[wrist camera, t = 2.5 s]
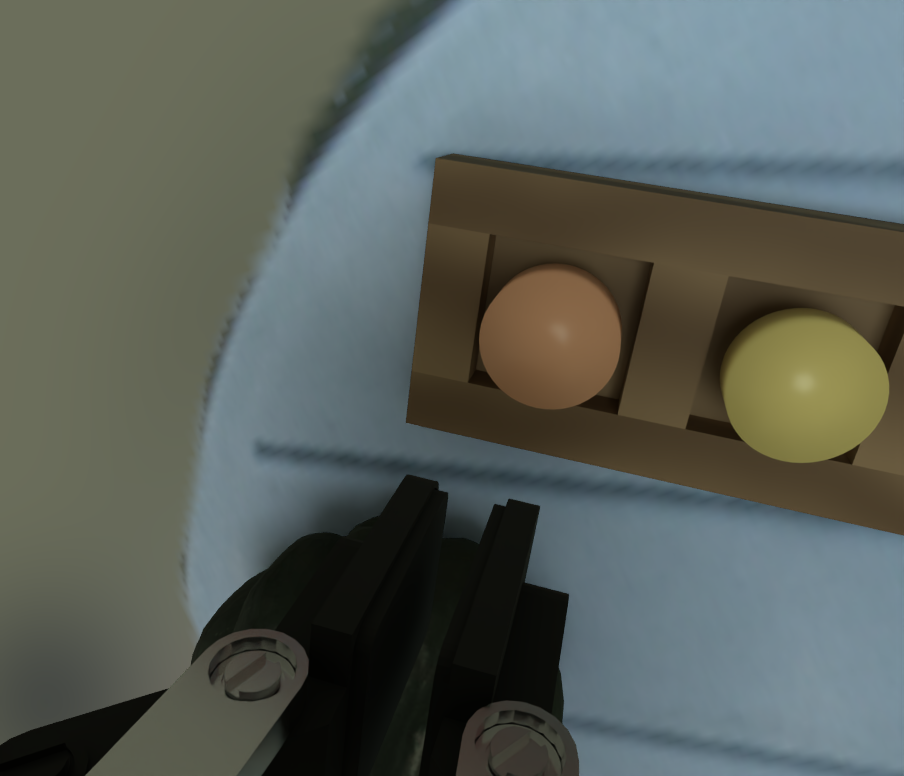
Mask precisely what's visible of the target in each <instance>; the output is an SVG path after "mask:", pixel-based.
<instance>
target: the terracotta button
mask: <svg viewBox="0 0 904 776" xmlns="http://www.w3.org/2000/svg"><path fill="white" fill-rule="evenodd" d="M621 336H622V322H621V315H620V312H619V308H618V306H617V303H616V301H615V299H614V297H613V296H612V294H611V292H610V291H609V290H608V288H607V287H606V286H605V285H604V284H603V283H602V282H601V281H600V280H599V279H598V278H596V277H595V276H593V275H592V274H590V273H589V272H587V271H585V270H583V269H580V268H578V267H575V266H571V265H567V264H558V263H553V264H542V265H538V266H534V267H531V268H529V269H526V270H524V271H522V272H521V273H519V274H517V275H516V276H514V277H513V278H512V279H511V280H509V282H508V283H507V284H506V285H505V286H504V287H503V288H502V289H501V291H500V292H499V293H498V295H497V296H496V297H495V299H494V300H493V301H492V303H491V304H490V305H489V307H488V309H487V311H486V313H485V315H484V317H483V320H482V323H481V328H480V335H479V347H480V353H481V357H482V361H483V364H484V366H485V368H486V370H487V372H488V374H489V375H490V377H491V379H492V380H493V381H494V382H495V384H496V385H497V386H498V387H499V388H500V389H501V390H502V391H503V392H504V393H506V394H507V395H508V396H510V397H511V398H513V399H515V400H516V401H518V402H520V403H523V404H525V405H527V406H531V407H535V408H540V409H551V410H555V409H564V408H569V407H573V406H575V405H578V404H581V403H583V402H585V401H587V400H589V399H590V398H592V397H593V396H595V395H596V394H597V393H598V392H599V391H600V390H601V389H602V388H603V387H604V386H605V385H606V384H607V383H608V381H609V380H610V378H611V377H612V375H613V373H614V371H615V369H616V366H617V363H618V360H619V354H620V347H621Z"/></svg>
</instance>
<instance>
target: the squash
mask: <svg viewBox="0 0 904 776" xmlns="http://www.w3.org/2000/svg"><path fill="white" fill-rule="evenodd" d="M378 518H379V517H378V516H377V517H374V518H371V519H369V520H367V521H365V522H363V523H361V524H359V525H357V526H356V527H355V528H354V529H353V530H352V531H351V532H350V533H349V535H348V536H347V537H350V538H354V539H358V540H362V541H364V540H365V538H366V537H367V535H368V534H369V532H370V531H371V529H372V527H373V526H374V524H375V523H376V521H377V520H378ZM341 537H343V536H340V535H337V534H334V533H328V532H323V533H315V534H310V535H307V536H304V537H301V538H300V539H298V540H297V541H295V542H294V543H293V544H292V545H291V546H289V547H288V549H287V550H285V551H284V552H283V553H282V554H281V555H280V556H279V557H278V558H277V559H276V560H275V561H274V562H273V564H272V565H271V566H270V567H269V568H268V569H266V570H264V571H263V572H261V573H259V574H257V575H256V576H254V577H252V578H251V579H249V580H248V581H247V582H245V583H244V584H243V585H242V586H241V587H240V588H239V589H238V590H236V591H235V592H234V593H233V594H232V595H231V596H230V597H229V598H228V599H227V600H226V601H225V602H224V603H223V604H222V605H221V607H220V608H219V609H218V610H217V612H216V613H215V614H214V616H213V617H212V618H211V619H210V621H209V622H208V623H207V625H206V626H205V628H204V629H203V632H202V634H201V636H200V639H199V641H198V643H197V645H196V647H195V650H194V653H193V656H192V661H191V665H192V664H193V663H194V662H195V661H196V660H197V659H198V658H199V657H200V656H201V654H202V653H203V652H204V651H205V650H206V649H207V648H209V647H210V646H211V645H212V644H214V643H215V642H216V641H218V640H219V639H221V638H223V637H225V636H227V635H230V634H232V633H234V632H239V631H243V630H248V629H269V630H274V631H275V629H276V628H277V626H278V625H279V624H280V622H281V621H282V619H283V618H284V616H285V615H286V614H287V612H288V611H289V609H290V608H291V606H292V605H293V604H294V602H295V601H296V599H297V598H298V596H299V595H300V594H301V592H302V591H303V589H304V588H305V586H306V585H307V584H308V582H309V581H310V579H311V578H312V576H313V575H314V574H315V572H316V571H317V569H318V568H319V566H320V565H321V564H322V562H323V561H324V559H325V558H326V556H327V555H328V554H329V552H330V551H331V549H332V548H333V546H334V545H335V544H336V542H337V541H338V540H339V539H340V538H341ZM478 547H479V544H477V543H475V542H473V541H471V540H468V539H464V538H444V539H442V544H441V550H440V557H439V564H438V571H437V578H436V585H435V592H434V598H433V605H432V612H431V618H430V623H429V627H428V631H427V634H426V637H425V640H424V642H423V645H422V647H421V649H420V652H419V654H418V657H417V659H416V662H415V664H414V667H413V669H412V672H411V674H410V676H409V679H408V681H407V684H406V686H405V689H404V691H403V694H402V696H401V699H400V701H399V704H398V706H397V708H396V711H395V713H394V716H393V718H392V721H391V723H390V726H389V728H388V731H387V733H386V735H385V738H384V740H383V743H382V745H381V748H380V750H379V753H378V755H377V758H376V760H375V762H374V765H373V767H372V770H371V772H370V775H369V776H419V771H420V765H421V758H422V752H423V745H424V739H425V732H426V726H427V719H428V713H429V706H430V700H431V693H432V687H433V680H434V675H435V670H436V665H437V661H438V657H439V654H440V650H441V647H442V644H443V641H444V638H445V636H446V633H447V630H448V628H449V625H450V622H451V620H452V617H453V614H454V611H455V609H456V606H457V603H458V601H459V598H460V595H461V593H462V590H463V587H464V584H465V582H466V579H467V576H468V574H469V571H470V568H471V566H472V563H473V560H474V557H475V555H476V552H477V549H478ZM563 706H564V699H563V690H562V681H561V673H560V670H559V667H558V674H557V681H556V688H555V694H554V701H553V708H552V714H551V715H553V716H555V717H556V718H557V719H558V720H559V721H560V722H561V723H562V719H563Z"/></svg>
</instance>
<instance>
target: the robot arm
mask: <svg viewBox="0 0 904 776" xmlns="http://www.w3.org/2000/svg"><path fill="white" fill-rule="evenodd" d="M438 489H439V483H438V481H433V480H429V479H425V478H421V477H417V476H412V475H406V476H405V477H404V479H403V480H402V482H401V484H400V485H399V487H398V488H397V490H396V491H395V493H394V495H393V496H392V498H391V499H390V501H389V502H388V504H387V505H386V507H385V509H384V510H383V512H382V513H381V515H380V516H379V518H378V520H377V521H376V523H375V524H374V526H373V527H372V529H371V531H370V532H369V534H368V535H367V537H366V538H365V540H364V541H362V540H358V539H354V538H350V537H346V536H343V537H341V538H340V539H339V540H338V541H337V542H336V544H335V545H334V546H333V548H332V549H331V551H330V552H329V554H328V555H327V556H326V558H325V559H324V561H323V562H322V564H321V565H320V566H319V568H318V569H317V571H316V572H315V574H314V575H313V576H312V578H311V579H310V581H309V582H308V584H307V585H306V586H305V588H304V589H303V591H302V592H301V594H300V595H299V596H298V598H297V599H296V601H295V602H294V604H293V605H292V606H291V608H290V609H289V611H288V612H287V614H286V615H285V616H284V618H283V619H282V621H281V622H280V624H279V625H278V626H277V628H276V629H275V631H274V630H269V629H248V630H243V631H239V632H234V633H232V634H230V635H227V636H225V637H223V638H221V639H219V640H218V641H216V642H215V643H214V644H212V645H211V646H210V647H209V648H207V649H206V650H205V651H204V652H203V653H202V654H201V656H200V657H199V658H198V659H197V660H196V661H195V662H194V663H193V664H192V665H191V666H190V667H189V668H188V669H187V670H186V671H185V672H184V673H183V674H182V675H181V676H180V678H178V679H177V681H176V682H175V683H174V684H173V685H172V686H171V687H170V688H168V689H165V690H162V691H159V692H155V693H152V694H149V695H145V696H142V697H139V698H136V699H132V700H129V701H125V702H122V703H119V704H115V705H112V706H109V707H106V708H102V709H99V710H96V711H92V712H89V713H86V714H83V715H79V716H76V717H73V718H69V719H66V720H63V721H59V722H56V723H53V724H50V725H47V726H43V727H40V728H37V729H33V730H30V731H28V732H25V733H23V734H21V735H18V736H16V737H13V738H11V739H9V740H8V741H6V742H5V743H3V744H1V745H0V776H369V775H370V772H371V770H372V767H373V765H374V762H375V760H376V758H377V755H378V753H379V750H380V748H381V745H382V743H383V740H384V738H385V735H386V733H387V731H388V728H389V726H390V723H391V721H392V718H393V716H394V713H395V711H396V708H397V706H398V704H399V701H400V699H401V696H402V694H403V691H404V689H405V686H406V684H407V681H408V679H409V676H410V674H411V672H412V669H413V667H414V664H415V662H416V659H417V657H418V654H419V652H420V649H421V647H422V645H423V642H424V640H425V637H426V634H427V631H428V627H429V623H430V618H431V612H432V605H433V598H434V592H435V585H436V578H437V571H438V564H439V557H440V550H441V544H442V537H443V530H444V523H445V516H446V509H447V502H448V492H443V491H439V490H438ZM539 510H540V506H538V505H534V504H530V503H525V502H521V501H517V500H513V499H508V502H507V504H506V506H501V505H497V504H494V506H493V509H492V512H491V514H490V517H489V520H488V522H487V525H486V528H485V530H484V533H483V536H482V539H481V541H480V544H479V547H478V549H477V552H476V555H475V557H474V560H473V563H472V566H471V568H470V571H469V574H468V576H467V579H466V582H465V584H464V587H463V590H462V593H461V595H460V598H459V601H458V603H457V606H456V609H455V611H454V614H453V617H452V620H451V622H450V625H449V628H448V630H447V633H446V636H445V638H444V641H443V644H442V647H441V650H440V654H439V657H438V661H437V665H436V670H435V675H434V680H433V687H432V693H431V700H430V706H429V713H428V719H427V726H426V732H425V739H424V745H423V752H422V758H421V765H420V771H419V776H579V759H578V753H577V748H576V744H575V742H574V740H573V738H572V737H571V735H570V733H569V731H568V729H567V728H566V727H565V726H564V725H563V724H562V723H561V722H560V721H559V720H558V719H557V718H556V717H555V716H553V715H551V714H552V708H553V701H554V694H555V688H556V681H557V674H558V667H559V661H560V654H561V647H562V640H563V634H564V627H565V620H566V613H567V607H568V599H569V594H567V593H563V592H559V591H555V590H551V589H547V588H543V587H539V586H536V585H532V584H528V583H525V578H526V573H527V568H528V564H529V559H530V554H531V549H532V544H533V539H534V534H535V529H536V525H537V520H538V515H539Z"/></svg>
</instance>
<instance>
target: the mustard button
mask: <svg viewBox="0 0 904 776" xmlns="http://www.w3.org/2000/svg"><path fill="white" fill-rule="evenodd" d="M720 387H721V392H722V396H723V399H724V403H725V407H726V410H727V414H728V417H729V419H730V422H731V424H732V426H733V428H734V429H735V431H736V432H737V434H738V435H739V436H740V437H741V439H742V440H744V441H745V442H746V443H747V444H748V445H749V446H750V447H752V448H753V449H754V450H756V451H758V452H760V453H761V454H763V455H766V456H768V457H771V458H773V459H777V460H780V461H786V462H792V463H811V462H818V461H823V460H827V459H831V458H834V457H836V456H839V455H841V454H844V453H845V452H847V451H849V450H851V449H853V448H854V447H856V446H857V445H858V444H860V443H861V442H862V441H863V440H865V439H866V438H867V437H868V436H869V435H870V434H871V433H872V431H873V430H874V429H875V428H876V426H877V425H878V423H879V422H880V420H881V418H882V416H883V414H884V412H885V409H886V406H887V403H888V397H889V380H888V374H887V371H886V368H885V365H884V363H883V361H882V359H881V357H880V356H879V355H878V353H877V352H876V351H875V349H874V348H873V347H872V346H871V345H870V344H869V343H868V342H867V341H866V340H865V339H864V338H863V337H862V336H861V335H860V334H859V332H858V331H857V330H856V329H855V328H854V327H853V326H852V325H850V324H849V323H848V322H846V321H845V320H843V319H842V318H840V317H838V316H836V315H834V314H831V313H828V312H826V311H822V310H818V309H810V308H792V309H785V310H780V311H776V312H773V313H770V314H768V315H765V316H763V317H761V318H759V319H757V320H756V321H754V322H753V323H751V324H749V325H748V326H747V327H746V328H745V329H743V330H742V331H741V332H740V333H739V334H738V335H737V336H736V337H735V339H734V340H733V341H732V343H731V344H730V346H729V347H728V349H727V351H726V353H725V355H724V358H723V361H722V365H721V369H720Z"/></svg>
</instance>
